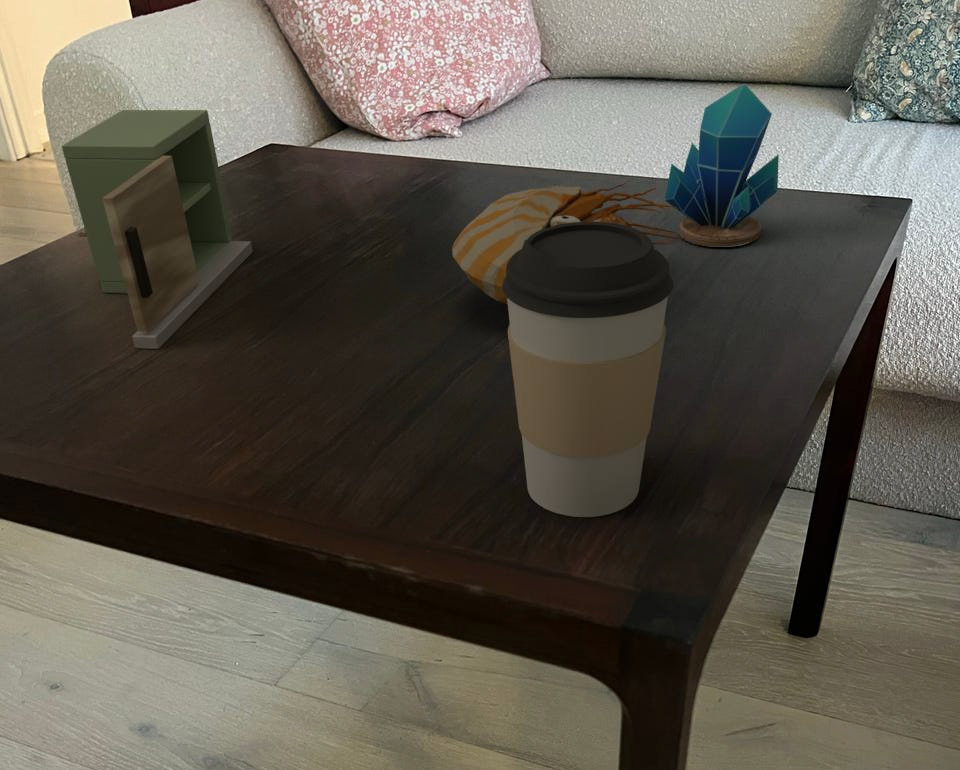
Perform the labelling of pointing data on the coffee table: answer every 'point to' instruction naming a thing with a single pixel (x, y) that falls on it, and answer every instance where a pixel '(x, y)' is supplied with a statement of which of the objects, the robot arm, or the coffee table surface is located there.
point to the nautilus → (531, 228)
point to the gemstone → (724, 173)
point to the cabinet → (188, 139)
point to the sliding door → (152, 241)
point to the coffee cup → (586, 360)
